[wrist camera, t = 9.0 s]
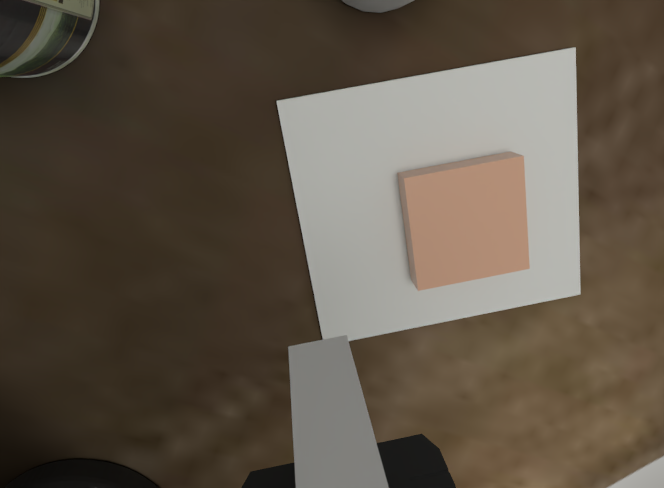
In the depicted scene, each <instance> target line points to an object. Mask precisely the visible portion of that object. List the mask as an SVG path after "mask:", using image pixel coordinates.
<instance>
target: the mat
mask: <svg viewBox="0 0 664 488" xmlns="http://www.w3.org/2000/svg"><path fill="white" fill-rule="evenodd" d="M276 102H277V107H278V112H279V118H280V123H281V128H282V133H283V138H284V143H285V148H286V154H287V159H288V164H289V169H290V174H291V179H292V184H293V189H294V195H295V200H296V205H297V210H298V215H299V220H300V225H301V231H302V236H303V241H304V246H305V251H306V256H307V261H308V267H309V272H310V277H311V282H312V287H313V292H314V297H315V303H316V308H317V313H318V318H319V323H320V328H321V333H322V339H323V340H324V339H329V338H334V337H339V336H344V335H347V338H348V341H351V340H356V339H361V338H366V337H371V336H376V335H381V334H386V333H391V332H396V331H401V330H406V329H411V328H416V327H421V326H426V325H431V324H436V323H441V322H446V321H451V320H456V319H461V318H466V317H471V316H476V315H481V314H486V313H490V312H495V311H500V310H505V309H510V308H515V307H520V306H525V305H530V304H535V303H540V302H545V301H550V300H555V299H560V298H565V297H570V296H575V295H580V246H579V195H578V145H577V94H576V47H575V48H567V49H561V50H556V51H550V52H545V53H539V54H533V55H528V56H522V57H517V58H511V59H506V60H500V61H494V62H489V63H483V64H478V65H472V66H467V67H461V68H455V69H450V70H444V71H439V72H433V73H428V74H422V75H416V76H411V77H405V78H400V79H394V80H389V81H383V82H377V83H372V84H366V85H361V86H355V87H350V88H344V89H338V90H333V91H327V92H322V93H316V94H311V95H305V96H299V97H294V98H288V99H283V100H277V101H276ZM505 152H514V153H517V154H520V155H523V156H524V169H525V188H526V208H527V227H528V246H529V265H530V269H526V270H521V271H516V272H511V273H506V274H501V275H496V276H491V277H486V278H481V279H476V280H471V281H466V282H461V283H455V284H450V285H445V286H440V287H435V288H430V289H425V290H420V291H418V290H417V289H416V287H415V285H414V284H413V282H412V281H411V276H410V268H409V260H408V253H407V245H406V237H405V230H404V222H403V214H402V206H401V199H400V191H399V183H398V176H397V173H399V172H404V171H409V170H415V169H420V168H425V167H431V166H436V165H441V164H447V163H452V162H457V161H463V160H468V159H473V158H479V157H484V156H489V155H495V154H500V153H505Z"/></svg>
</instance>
